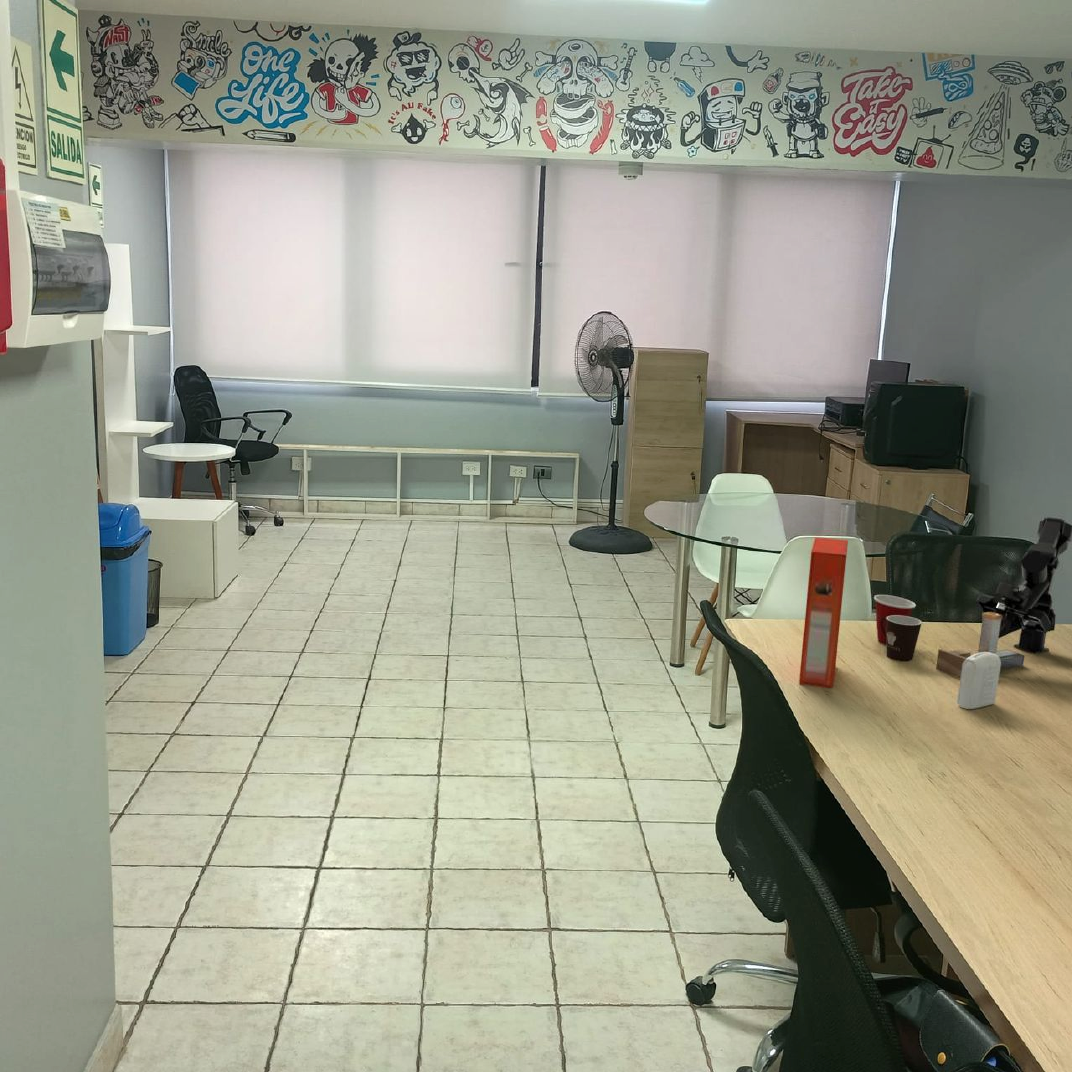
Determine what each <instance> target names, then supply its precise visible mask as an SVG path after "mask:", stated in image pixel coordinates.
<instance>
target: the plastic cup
mask: <svg viewBox="0 0 1072 1072" xmlns="http://www.w3.org/2000/svg"><path fill="white" fill-rule="evenodd" d="M873 599H874V602H875V617H876V618H875V619H876V621H875V623H876V633H877V634H876V635H877V641H878V643H879V644H882V645H885V646H886V637H885V635H884V634H883V632H882V630H881V627H880V622H881V619H883V618H887V617H888V616H892V615H900V616H908V617H911V616H910V615H911V614H912V612H913V610H914V609H915V608H916V606H917V605H916V603H915V602H914V601H911V600H909V599H906V598H903V597H901V596H900V597H899V596H895V595H889V594H877V595H876V594H875V595H874V597H873ZM883 629H884V631H885V633H886V620H884V621H883Z"/></svg>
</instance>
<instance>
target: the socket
mask: <svg viewBox="0 0 1072 1072" xmlns="http://www.w3.org/2000/svg"><path fill="white" fill-rule="evenodd" d="M970 656H972V652H970V651H968V650H966V649H961V648H960V649H957V650H956V649H955V650H950V651H949V650H946V649H943V648H939V649H938V651H937V658H936V665H935V669H936V670H939V671H942V672H943V673H947V674H949V675H952V676H954V677H957V678H960V679H961V672H962V665H963V662H964V661H965V660H966V659H967V658H968V657H970Z"/></svg>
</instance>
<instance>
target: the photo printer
mask: <svg viewBox="0 0 1072 1072" xmlns="http://www.w3.org/2000/svg"><path fill="white" fill-rule="evenodd" d="M1000 666H1001V661H1000V658H999V656H998V655H996V654H993V653H990V652H980V653H978V652H977V653H975V654H971V656H970V657H968V658H967V659H966V660H965V661H964V662H963V665H962V672H961V678H960V680H959V685H958V686H959V688H958V693H957V701H956V702H957V703H956V704H957V705H958V706H959V707H960V708H962V709H965V710H975V709H978V708H983V707H987V706H990V705H994V704H995V702H996V698H997V694H998V693H997V692H998V686H999V679H1000V673H1001V672H1000V671H1001V670H1000Z"/></svg>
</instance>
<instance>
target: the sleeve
mask: <svg viewBox="0 0 1072 1072" xmlns="http://www.w3.org/2000/svg"><path fill="white" fill-rule="evenodd" d="M1004 650H1009V651H1012V650H1010V649H1001V650H997V651H996V652H998V651H1004ZM1012 652H1015V653H1017V655H1016V656H1010V657H1005V658H1000V661H1001V666H1000V671H1002V670H1007V669H1014V668H1019V667H1023V666H1024V662H1025V654H1022V653H1018V652H1016V651H1014V650H1013V651H1012Z"/></svg>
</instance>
